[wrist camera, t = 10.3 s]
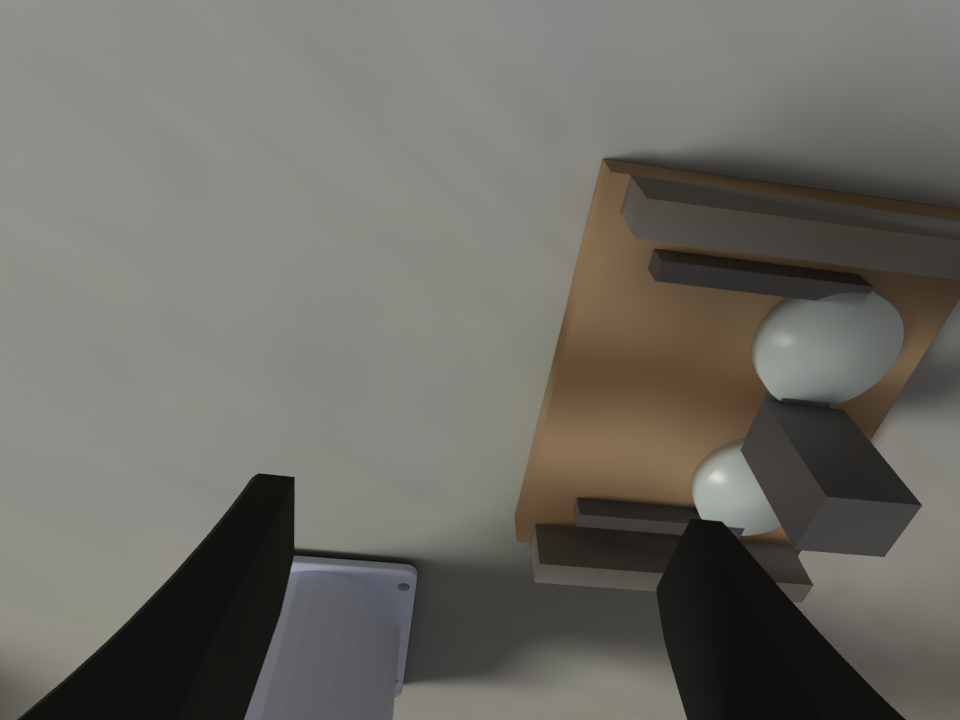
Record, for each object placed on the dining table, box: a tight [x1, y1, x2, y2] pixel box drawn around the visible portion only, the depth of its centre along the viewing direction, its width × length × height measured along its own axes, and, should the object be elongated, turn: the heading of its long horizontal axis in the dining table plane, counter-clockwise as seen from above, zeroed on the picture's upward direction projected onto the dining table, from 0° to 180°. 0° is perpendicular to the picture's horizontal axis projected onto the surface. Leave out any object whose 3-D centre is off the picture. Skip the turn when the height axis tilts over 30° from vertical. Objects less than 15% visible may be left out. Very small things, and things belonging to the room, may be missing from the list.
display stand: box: [515, 159, 960, 603], centre depth 20 cm, size 14×11×3 cm
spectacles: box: [573, 249, 922, 557], centre depth 18 cm, size 10×8×5 cm
